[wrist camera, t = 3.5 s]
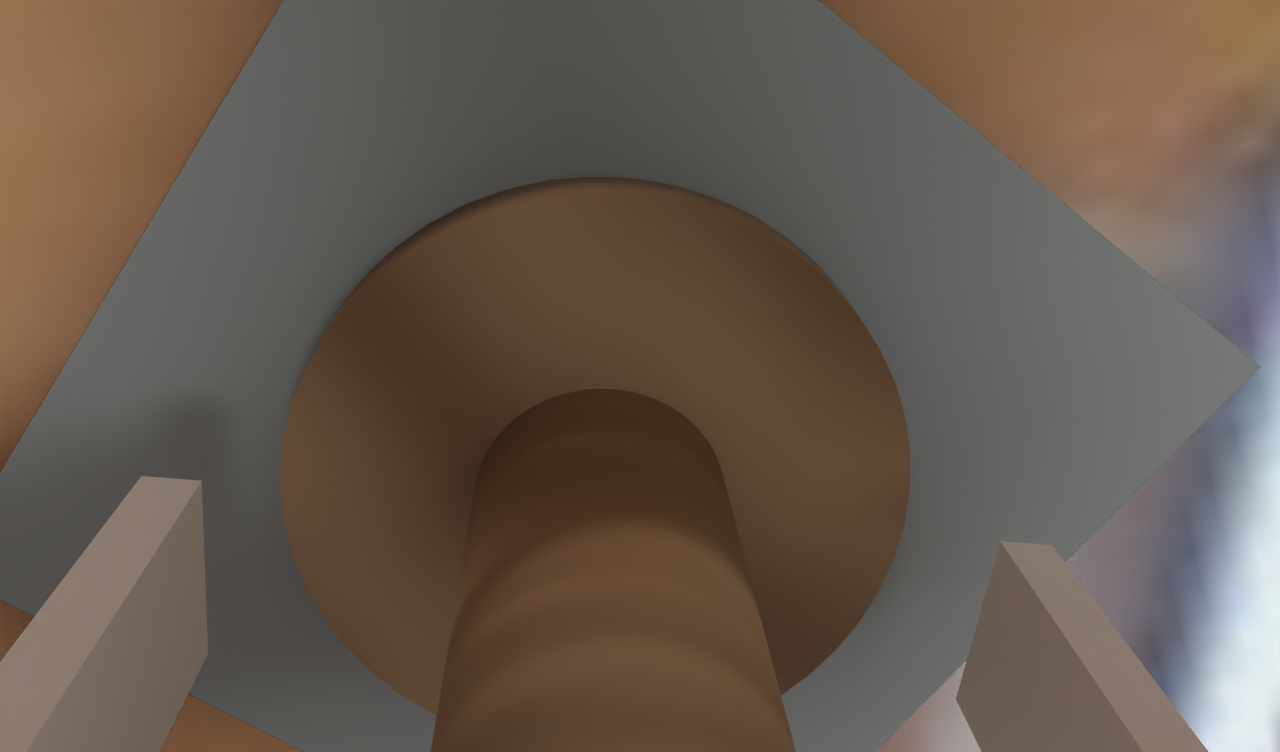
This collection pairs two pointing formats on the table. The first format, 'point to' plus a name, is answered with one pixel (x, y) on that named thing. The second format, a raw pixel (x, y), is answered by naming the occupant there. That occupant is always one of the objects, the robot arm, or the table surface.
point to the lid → (596, 471)
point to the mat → (622, 148)
